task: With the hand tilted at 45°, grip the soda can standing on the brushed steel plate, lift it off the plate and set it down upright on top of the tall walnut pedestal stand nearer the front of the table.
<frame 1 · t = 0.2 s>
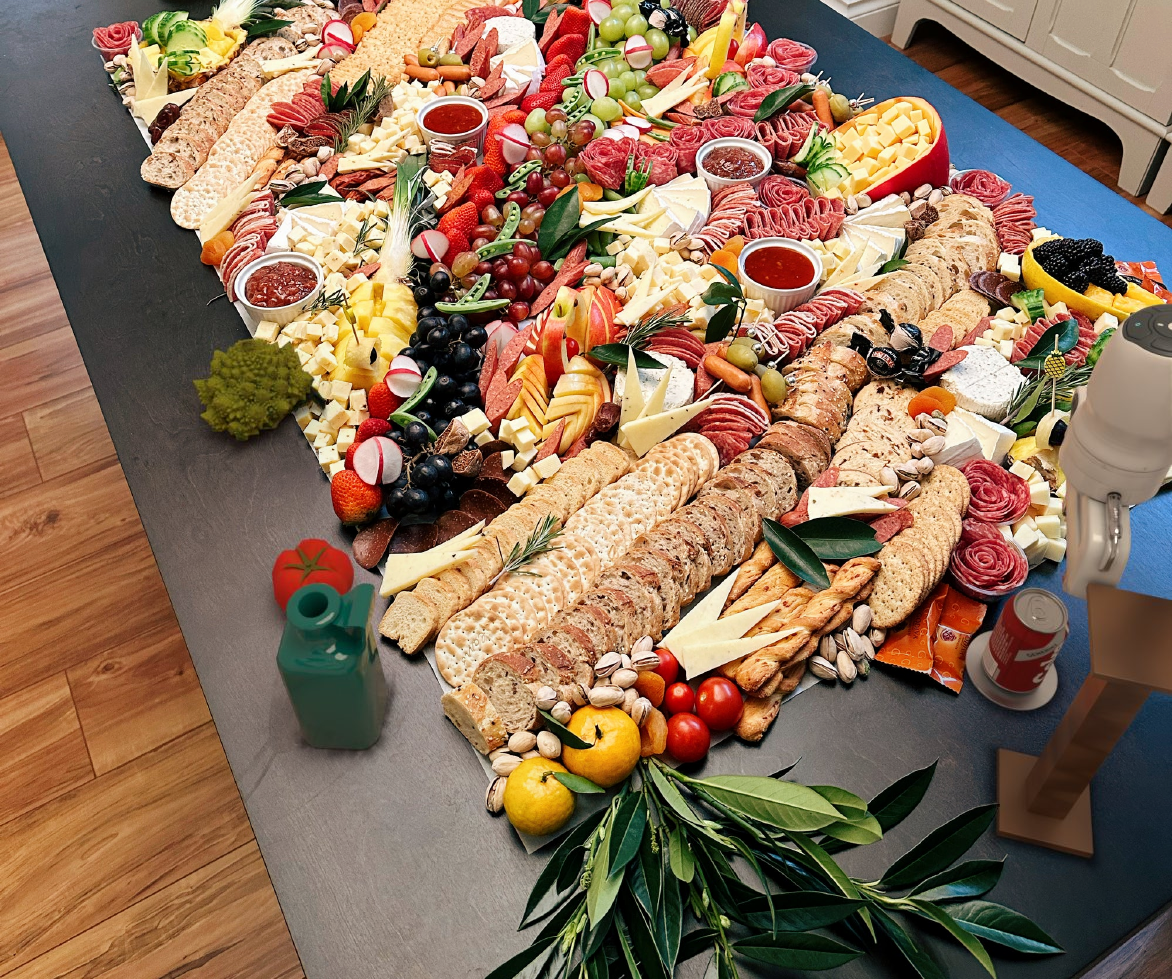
hand: (1070, 549, 110), 24 cm above the table, tool pointing down, fingers open, 8 cm apart
soda can: (1011, 669, 126), resting on steel plate
steel plate: (1010, 670, 127), on the table
tomato: (319, 597, 134), on the table
walnut stand: (1041, 804, 116), on the table
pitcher: (353, 715, 123), on the table
vegetable: (261, 411, 156), on the table
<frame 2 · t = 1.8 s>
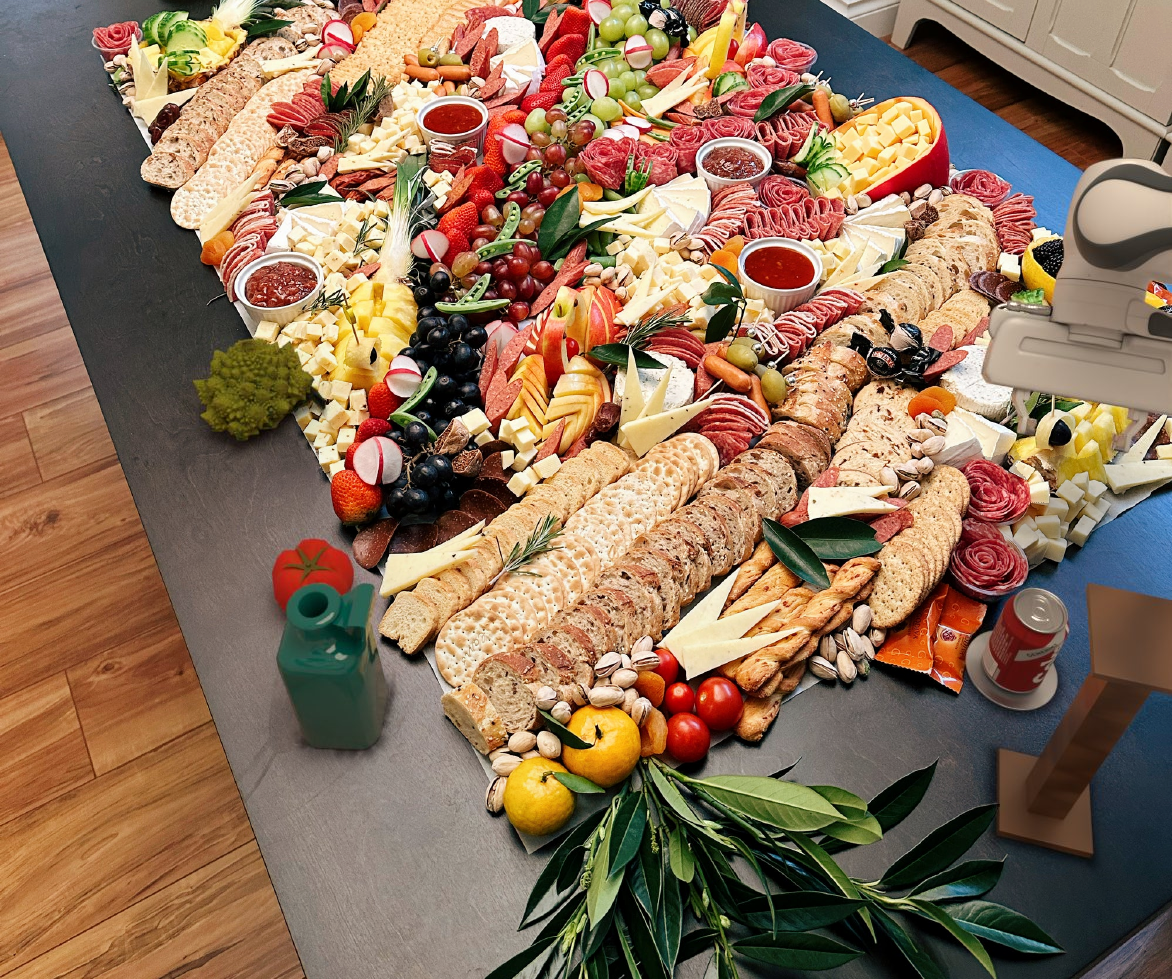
hand: (1071, 443, 118), 25 cm above the table, tool tilted 45°, fingers open, 8 cm apart
nothing on the table moved.
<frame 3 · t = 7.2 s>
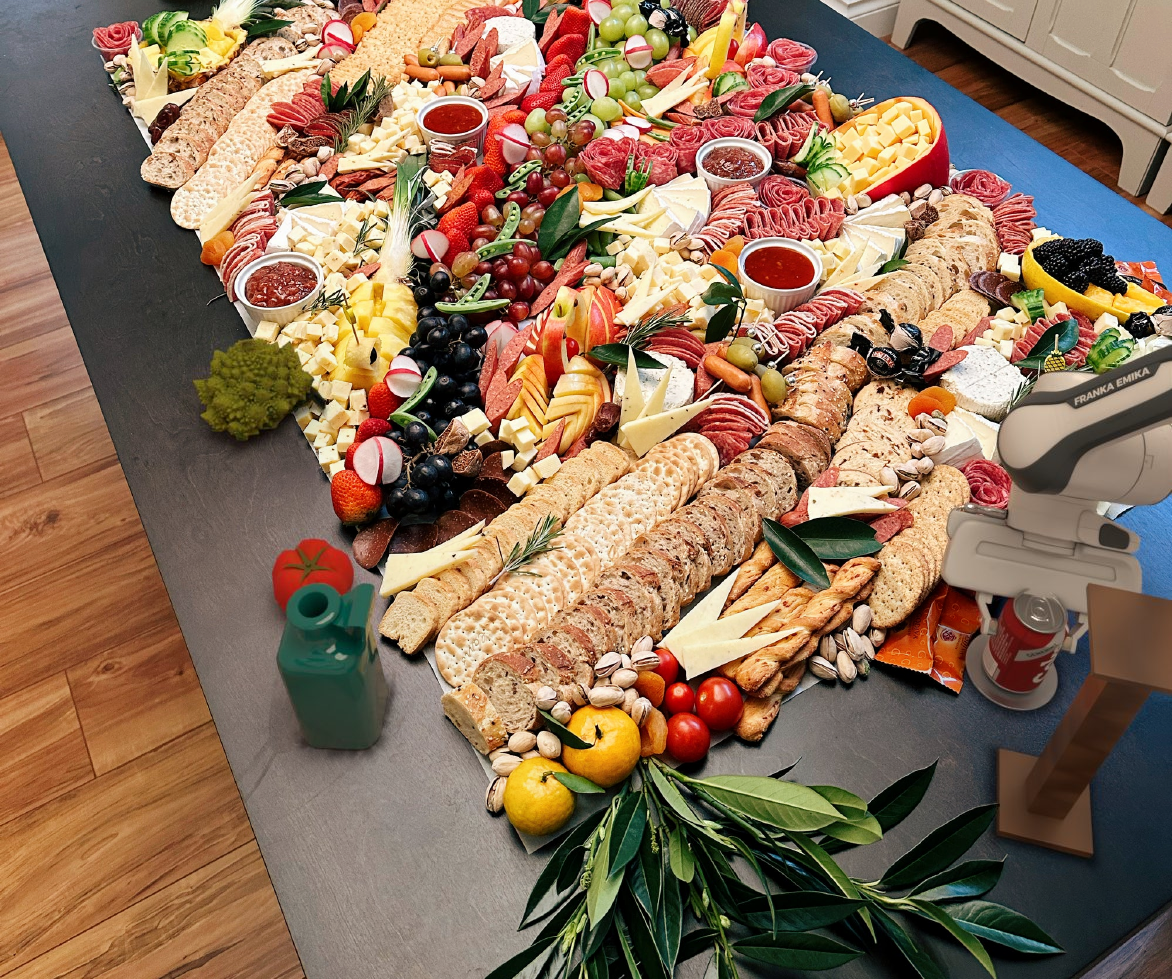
hand: (1027, 643, 121), 7 cm above the table, tool tilted 45°, fingers closed on soda can, 7 cm apart
soda can: (1011, 669, 126), resting on steel plate, touching gripper
everything else where it was.
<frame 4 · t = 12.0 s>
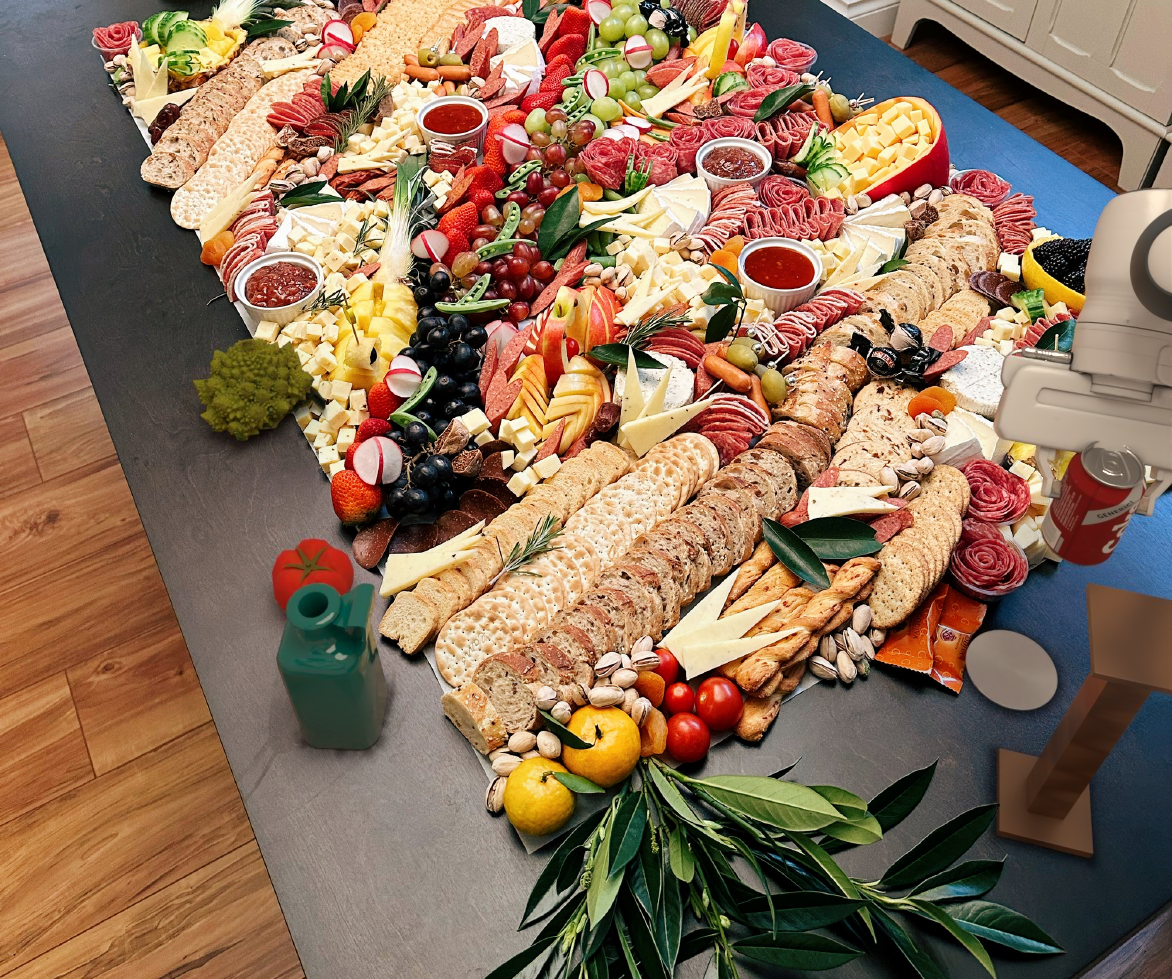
hand: (1095, 506, 105), 31 cm above the table, tool tilted 45°, fingers closed on soda can, 7 cm apart
soda can: (1074, 543, 110), point 24 cm above the table, touching gripper
everything else where it was.
when the fingers open (38 cm above the table, at t = 17.2 s): soda can stays where it is, resting on walnut stand.
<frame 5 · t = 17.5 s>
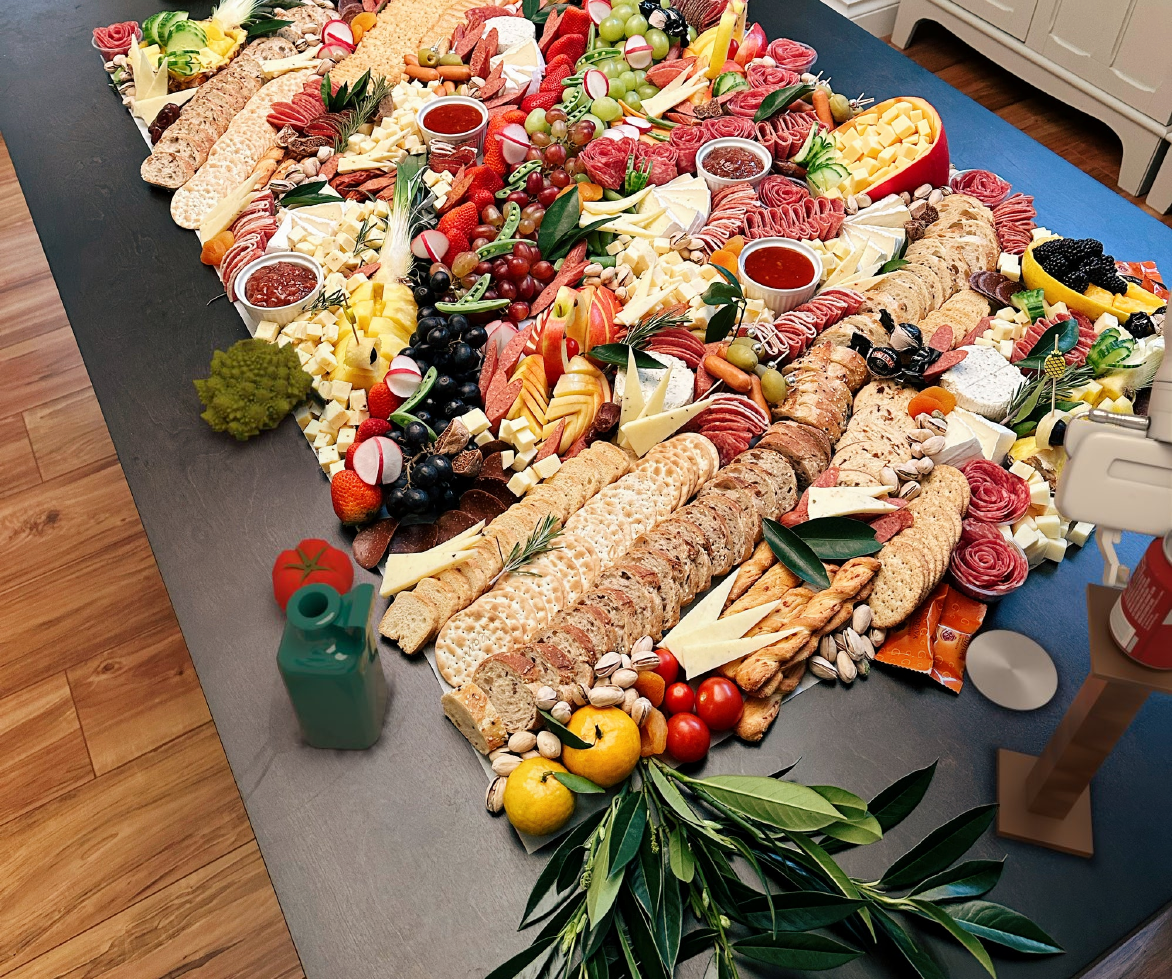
soda can: (1147, 638, 94), point 32 cm above the table, touching walnut stand
everything else where it was.
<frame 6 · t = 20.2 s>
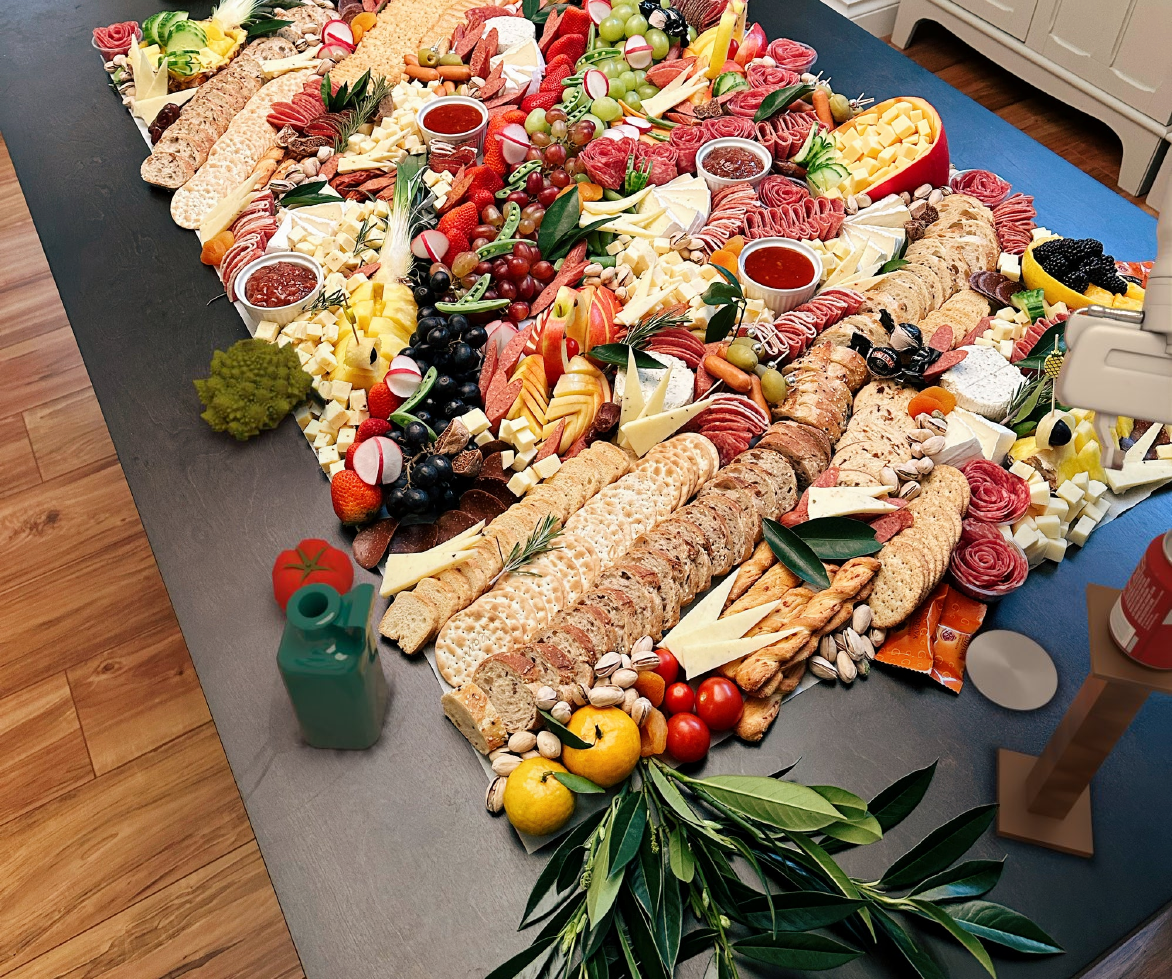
hand: (1168, 480, 95), 40 cm above the table, tool tilted 45°, fingers open, 8 cm apart
nothing on the table moved.
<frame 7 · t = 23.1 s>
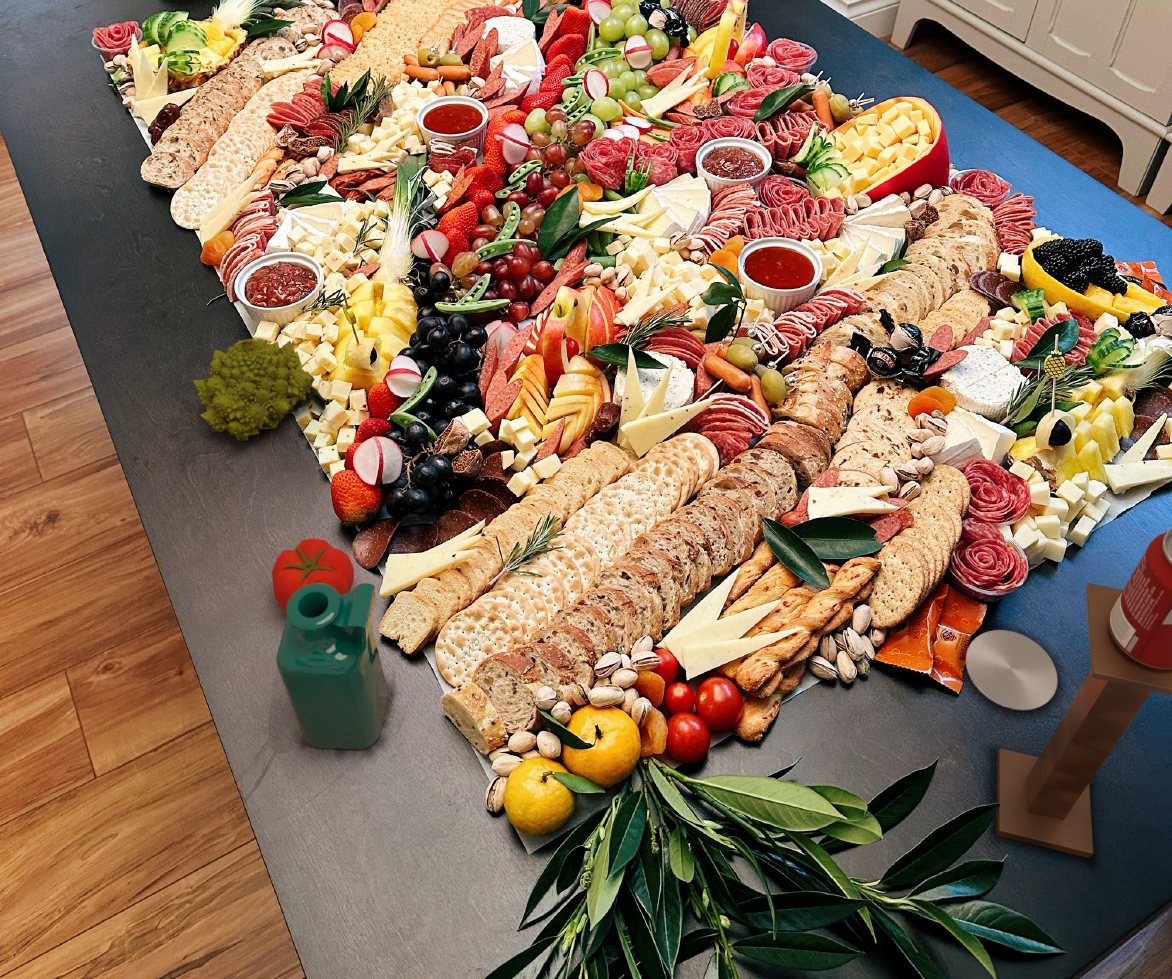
nothing on the table moved.
at the end: soda can 0.1 cm off-centre on the walnut stand, point 31.8 cm above the walnut stand's base; soda can tilted 0°; soda can touching walnut stand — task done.
